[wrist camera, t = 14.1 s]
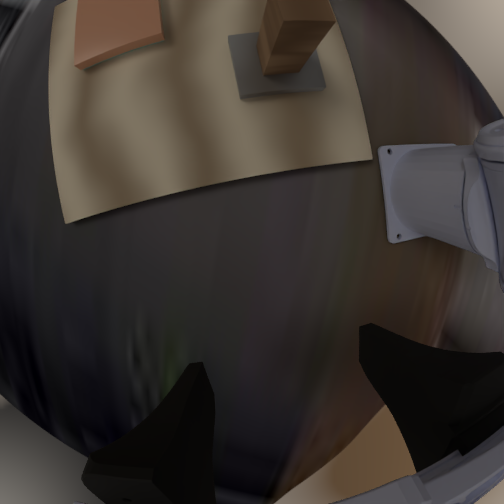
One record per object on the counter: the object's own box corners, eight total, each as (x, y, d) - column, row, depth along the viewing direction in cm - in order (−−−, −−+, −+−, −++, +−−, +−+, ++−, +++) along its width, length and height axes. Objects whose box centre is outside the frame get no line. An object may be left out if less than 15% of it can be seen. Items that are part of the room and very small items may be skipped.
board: (303, -43, 14) (305, -49, 13) (366, 160, 20) (372, 159, 19) (59, 10, 14) (55, 6, 13) (71, 222, 19) (65, 223, 18)
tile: (165, 41, 16) (158, -22, 14) (161, 33, 14) (155, -32, 12) (82, 71, 15) (84, 5, 13) (74, 65, 14) (78, -3, 12)
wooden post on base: (306, 35, 16) (345, -27, 8) (321, 90, 18) (376, 45, 9) (227, 41, 16) (229, -29, 8) (240, 99, 17) (248, 45, 9)
